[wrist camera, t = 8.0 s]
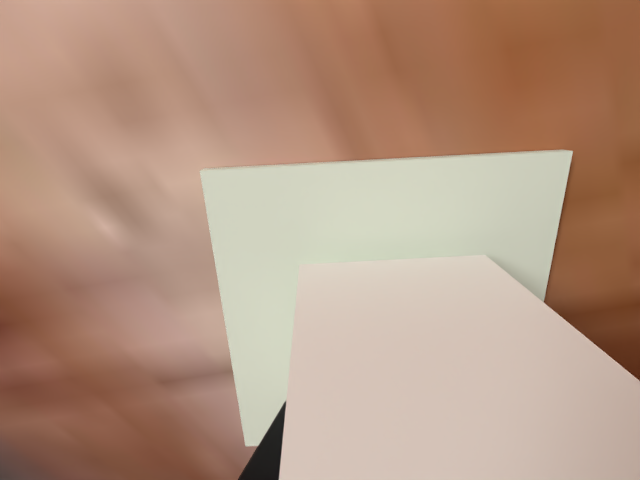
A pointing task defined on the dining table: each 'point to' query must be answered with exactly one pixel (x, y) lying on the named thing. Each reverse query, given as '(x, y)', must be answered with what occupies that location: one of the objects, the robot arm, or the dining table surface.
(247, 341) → the mat
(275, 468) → the robot arm
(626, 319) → the dining table surface
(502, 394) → the plug
